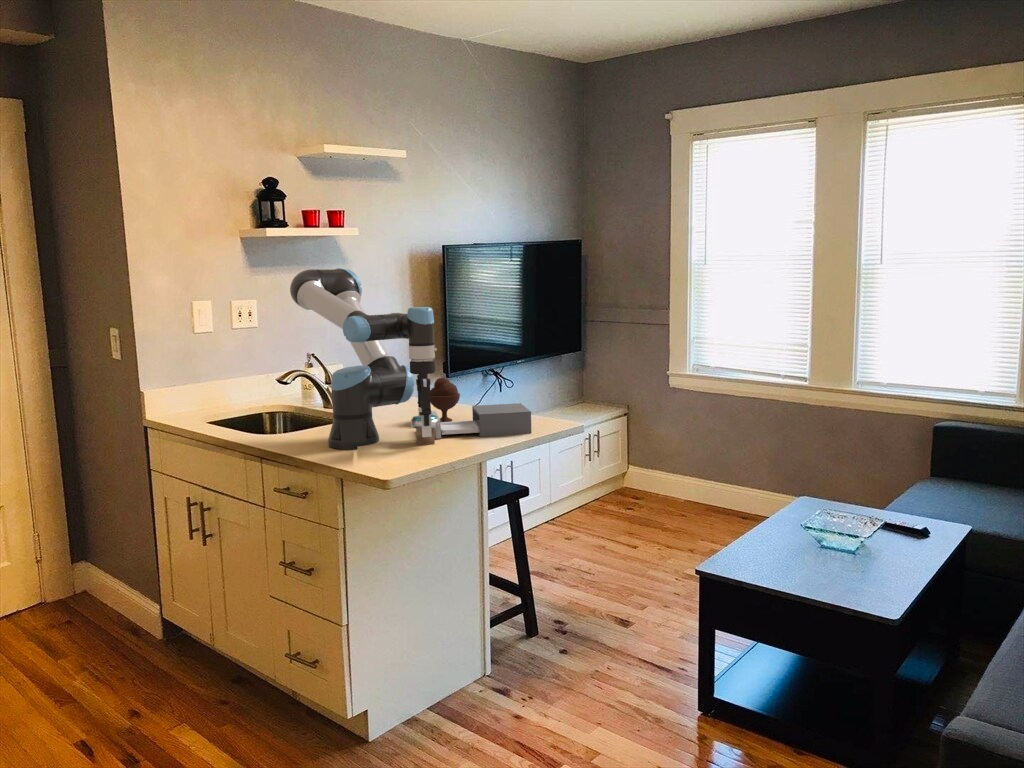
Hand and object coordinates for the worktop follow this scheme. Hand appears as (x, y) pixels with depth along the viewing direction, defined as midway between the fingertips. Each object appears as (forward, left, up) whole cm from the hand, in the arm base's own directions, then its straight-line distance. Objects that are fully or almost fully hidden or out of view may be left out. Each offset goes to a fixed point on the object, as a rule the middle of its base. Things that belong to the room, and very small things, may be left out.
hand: (425, 432), depth 246 cm
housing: (+25, +13, -3) cm, 28 cm away
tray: (+13, +13, -3) cm, 18 cm away
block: (0, 0, -3) cm, 3 cm away
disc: (0, 0, +2) cm, 2 cm away
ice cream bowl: (+9, +33, -3) cm, 34 cm away
